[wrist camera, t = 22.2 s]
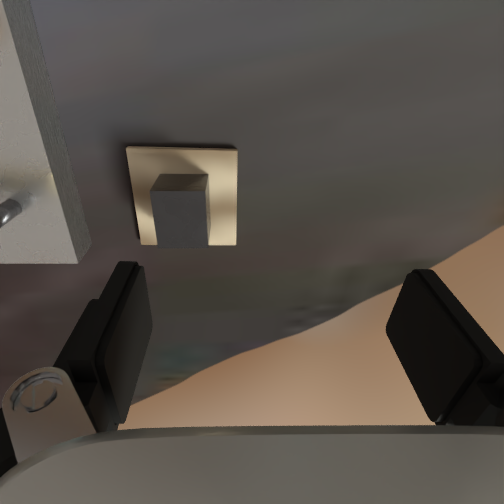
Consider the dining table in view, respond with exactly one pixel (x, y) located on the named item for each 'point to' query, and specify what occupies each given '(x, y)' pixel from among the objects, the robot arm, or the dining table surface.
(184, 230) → the dark grey block
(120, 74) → the dining table surface
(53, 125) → the plane body
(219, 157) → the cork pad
